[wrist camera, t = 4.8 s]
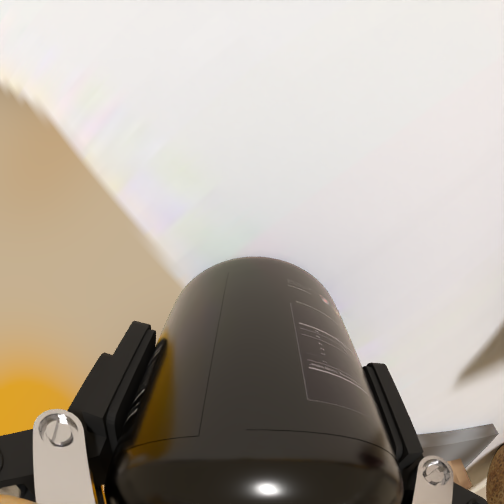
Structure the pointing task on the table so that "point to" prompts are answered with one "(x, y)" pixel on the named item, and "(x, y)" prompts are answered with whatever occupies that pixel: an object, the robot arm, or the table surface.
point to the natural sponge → (496, 479)
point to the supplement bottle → (254, 401)
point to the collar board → (458, 448)
